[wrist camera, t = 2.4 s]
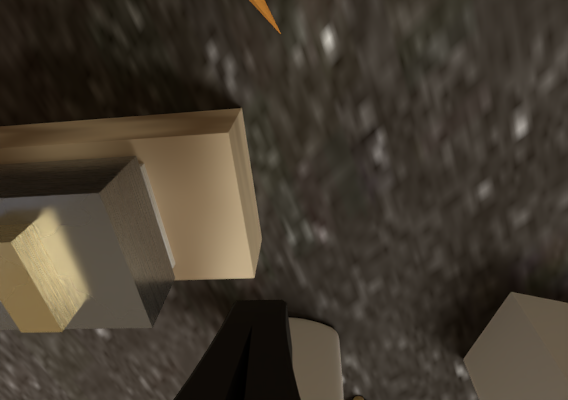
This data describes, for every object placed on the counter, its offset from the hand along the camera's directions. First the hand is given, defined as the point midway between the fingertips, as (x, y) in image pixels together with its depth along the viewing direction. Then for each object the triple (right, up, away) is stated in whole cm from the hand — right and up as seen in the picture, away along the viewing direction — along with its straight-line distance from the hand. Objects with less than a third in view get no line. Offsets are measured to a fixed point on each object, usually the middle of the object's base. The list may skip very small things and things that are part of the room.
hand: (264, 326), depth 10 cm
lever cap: (-8, +2, +6) cm, 10 cm away
